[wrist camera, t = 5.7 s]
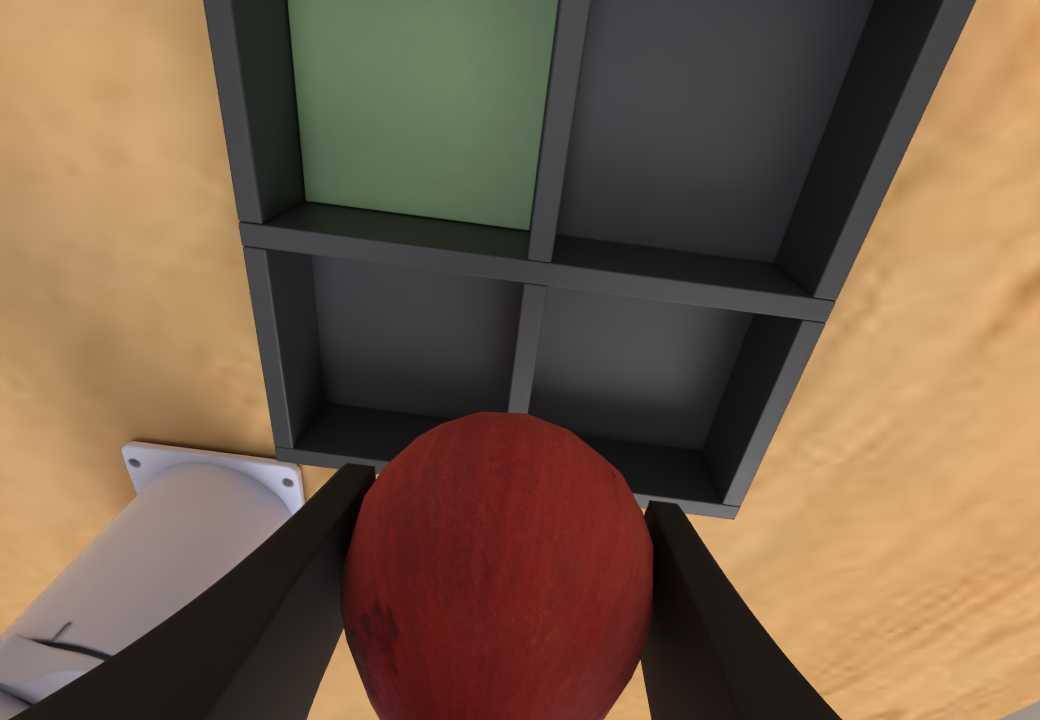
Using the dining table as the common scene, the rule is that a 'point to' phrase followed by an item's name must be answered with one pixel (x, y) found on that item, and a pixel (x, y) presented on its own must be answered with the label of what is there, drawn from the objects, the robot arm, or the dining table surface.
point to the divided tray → (561, 213)
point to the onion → (497, 576)
